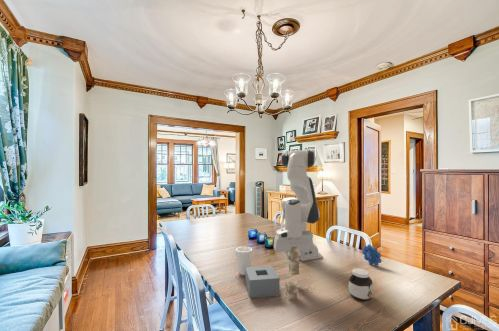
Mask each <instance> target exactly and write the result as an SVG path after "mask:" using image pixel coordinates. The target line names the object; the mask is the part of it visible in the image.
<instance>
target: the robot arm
mask: <svg viewBox="0 0 499 331" xmlns="http://www.w3.org/2000/svg"><path fill="white" fill-rule="evenodd" d="M280 162H281V165H282V166H283V167H285V168H286V169H287V171H286V174H287V175H286V176H287V180H288V181H289V182H290V183H289V186H290V187H289V188H290V190H291V191H292V192H293V193H294V194H295V197H294V196H293V197H292V196H290V197H284V198H283V199H282V201H281V205H280V206H281V209H282V211H283V218H284V220H285V221H284V226H283V227H282V228H279V229H276V230H275V237H274V240H273V249H274V251H275V252H276V253H283V252H284V254H285V255H286V260H288V261H289V260H291V256H290V255H289V251H291V247H297V246H299V261H303V262H304V261H305V262H306V261H311V260H317V259H322V258H323V254H322V253H321V252H319V248H318V246H317V245H316V244H315V243H314V241H313V239H314V238H313V237H314V233H313V232H312V231H310V230H308V229H307V228H308V226H307V224H312V225H313V224H315V223H317V222H318V221H319V220H320V217H321V216H320V215H321V214H320V208H319V206H318V202H317V197H316V192H315V187H314V183H313V180H312V178H311V177H310V176H308V173H307V169H310V168H311V167H314V166H315V163H316V155H315V152H314V151H312V150H301V149H299V150H290V151H288V150H286V151H283V152H282V153H281V156H280Z"/></svg>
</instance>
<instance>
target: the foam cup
mask: <svg viewBox="0 0 499 331" xmlns="http://www.w3.org/2000/svg"><path fill="white" fill-rule="evenodd" d="M235 257H236V263H237V271H238V274H239V275H243V276H245V268H248V267H251V264H252V257H253V248H252V247H250V246H239V247H236V248H235Z"/></svg>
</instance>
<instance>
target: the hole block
mask: <svg viewBox="0 0 499 331" xmlns="http://www.w3.org/2000/svg"><path fill="white" fill-rule="evenodd" d="M244 276H245V286H246V291H247V293H248V295H249V296H248V297H249V298H250V299H253V298H254V299H255V298H267V297H277V296H280V286H281V285H280V277H279V275H278V273H277V272H276V271H275V268H274V267H273V265H265V266H250V267H248V268H245V275H244Z"/></svg>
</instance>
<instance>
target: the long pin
mask: <svg viewBox="0 0 499 331" xmlns="http://www.w3.org/2000/svg"><path fill="white" fill-rule="evenodd" d="M288 252H289V255H290V256H291V260H288V272H289V273H290V275H291V276H296V275H300V260H299V246H297V247H291V251H288Z"/></svg>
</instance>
